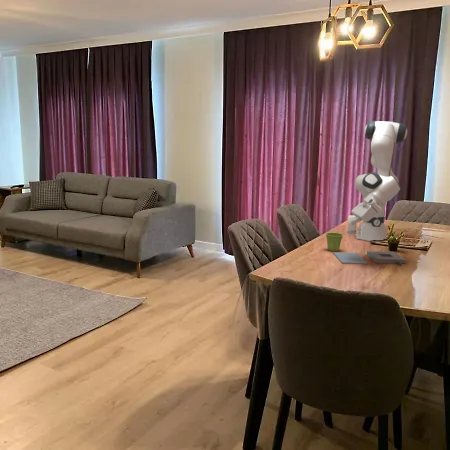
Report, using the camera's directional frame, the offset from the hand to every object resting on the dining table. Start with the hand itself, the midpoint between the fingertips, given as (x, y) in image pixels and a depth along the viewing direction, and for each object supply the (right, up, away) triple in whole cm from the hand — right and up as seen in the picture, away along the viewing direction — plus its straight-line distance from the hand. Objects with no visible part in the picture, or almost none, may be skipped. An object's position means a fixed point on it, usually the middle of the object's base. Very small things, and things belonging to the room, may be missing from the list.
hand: (350, 223), depth 233 cm
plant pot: (-4, -14, +21) cm, 26 cm away
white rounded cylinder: (+1, -5, +1) cm, 5 cm away
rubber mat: (0, -18, +3) cm, 18 cm away
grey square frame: (+18, -18, +1) cm, 26 cm away
